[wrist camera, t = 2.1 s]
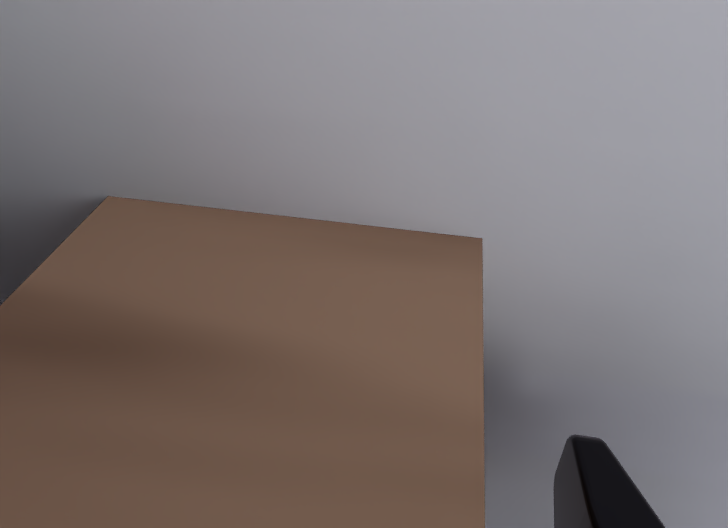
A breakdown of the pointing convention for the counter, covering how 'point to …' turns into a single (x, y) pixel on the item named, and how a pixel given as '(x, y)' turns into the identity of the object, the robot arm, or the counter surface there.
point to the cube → (243, 375)
